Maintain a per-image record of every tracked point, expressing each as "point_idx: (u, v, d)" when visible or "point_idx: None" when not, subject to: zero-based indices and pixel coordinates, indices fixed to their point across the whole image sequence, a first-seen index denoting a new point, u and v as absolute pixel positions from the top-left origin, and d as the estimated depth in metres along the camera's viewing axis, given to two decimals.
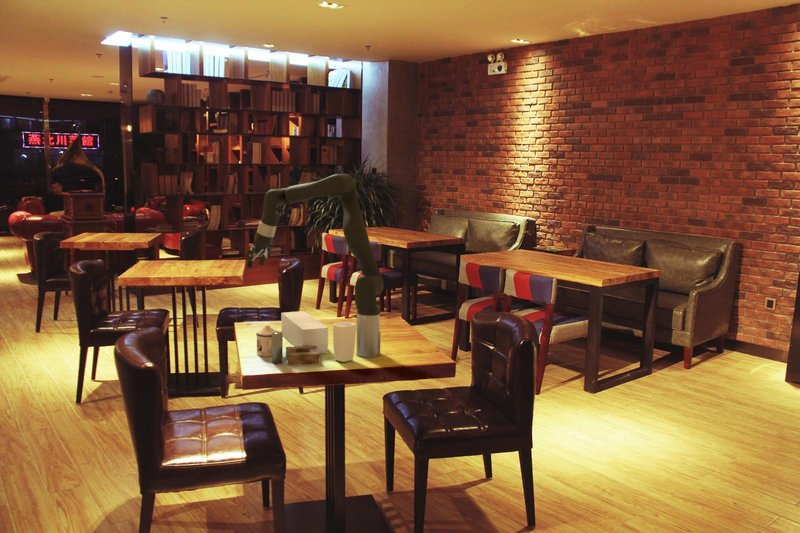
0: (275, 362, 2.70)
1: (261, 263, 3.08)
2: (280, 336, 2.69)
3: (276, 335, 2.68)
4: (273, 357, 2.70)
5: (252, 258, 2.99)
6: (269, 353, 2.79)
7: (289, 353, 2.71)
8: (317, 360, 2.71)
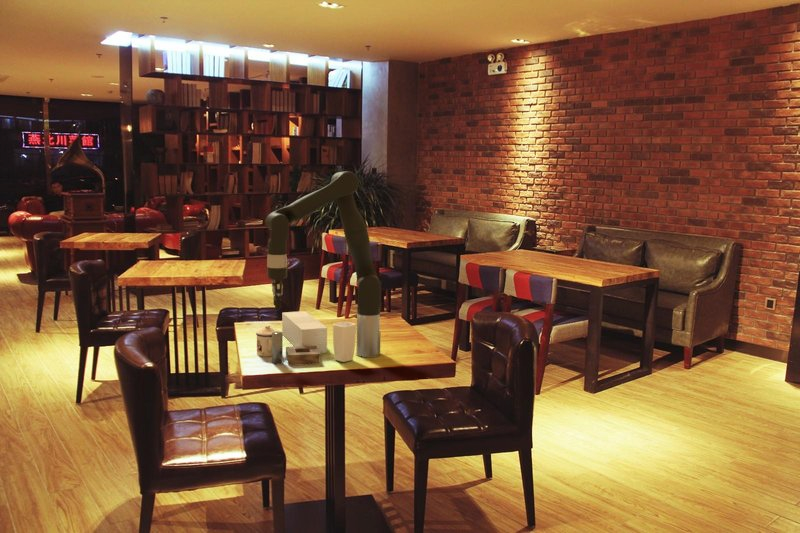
0: (275, 362, 2.70)
1: None
2: (280, 335, 2.69)
3: (276, 335, 2.68)
4: (273, 357, 2.70)
5: None
6: (269, 353, 2.79)
7: (289, 353, 2.71)
8: (317, 360, 2.71)
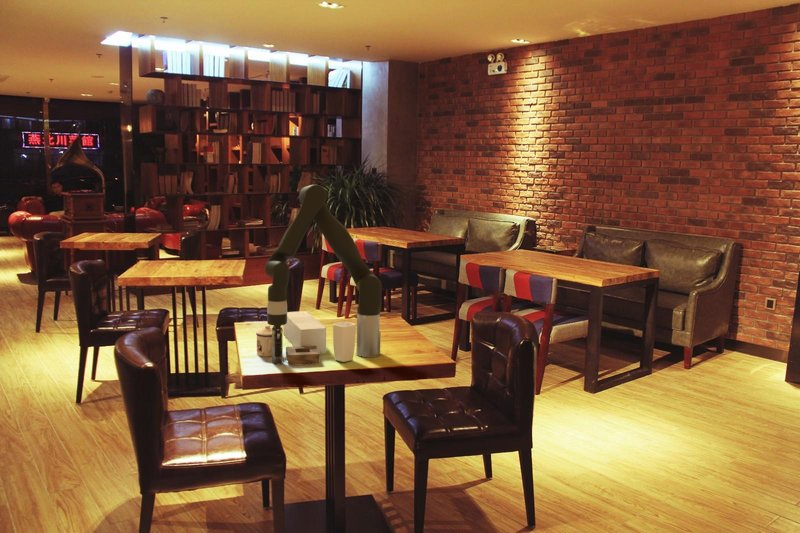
0: (275, 362, 2.70)
1: None
2: None
3: None
4: (273, 357, 2.70)
5: None
6: (269, 353, 2.79)
7: (289, 353, 2.71)
8: (317, 360, 2.71)
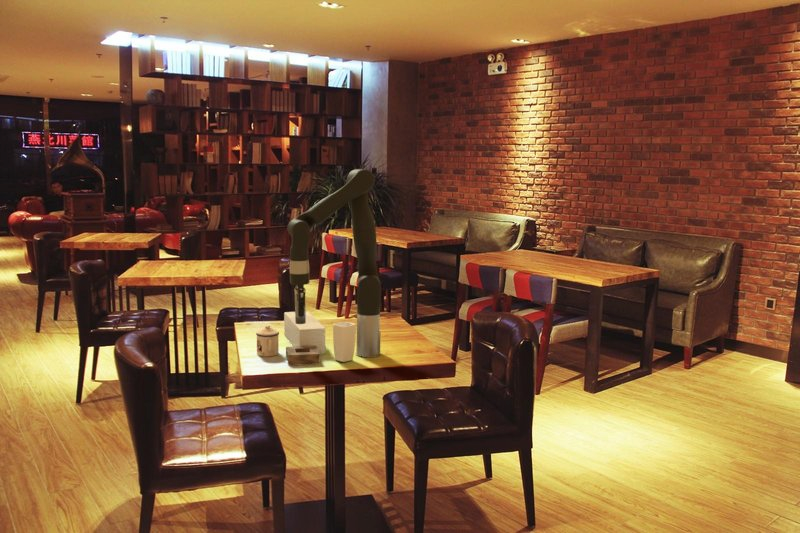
0: (299, 322, 2.71)
1: None
2: None
3: None
4: (296, 317, 2.71)
5: None
6: (269, 353, 2.79)
7: (289, 353, 2.71)
8: (317, 360, 2.71)
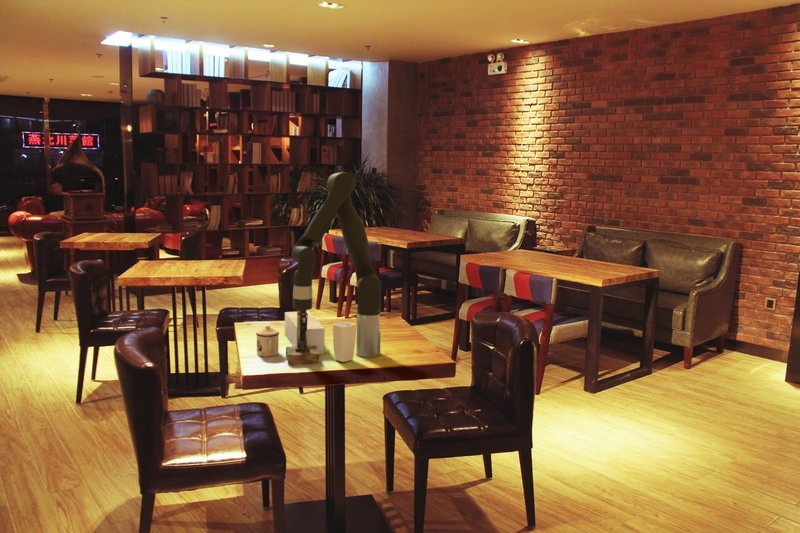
0: (300, 346, 2.73)
1: None
2: None
3: None
4: (298, 341, 2.73)
5: None
6: (269, 353, 2.79)
7: (289, 353, 2.71)
8: (317, 360, 2.71)
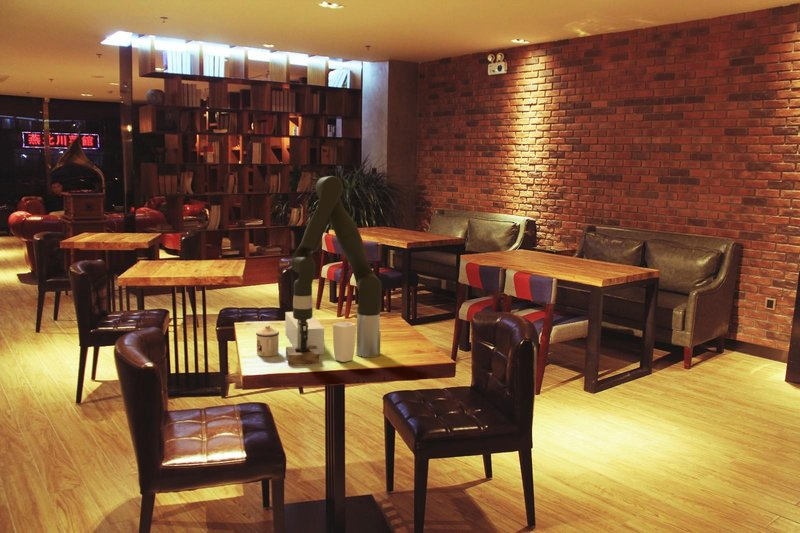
0: None
1: None
2: None
3: None
4: None
5: None
6: (269, 353, 2.79)
7: (289, 353, 2.71)
8: (317, 360, 2.71)
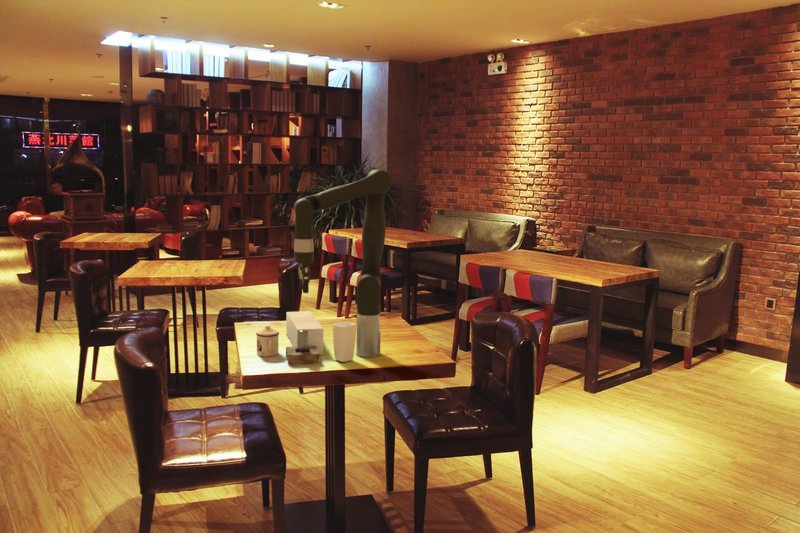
0: None
1: None
2: (305, 333, 2.73)
3: (302, 333, 2.72)
4: None
5: None
6: (269, 353, 2.79)
7: (289, 353, 2.71)
8: (317, 360, 2.71)
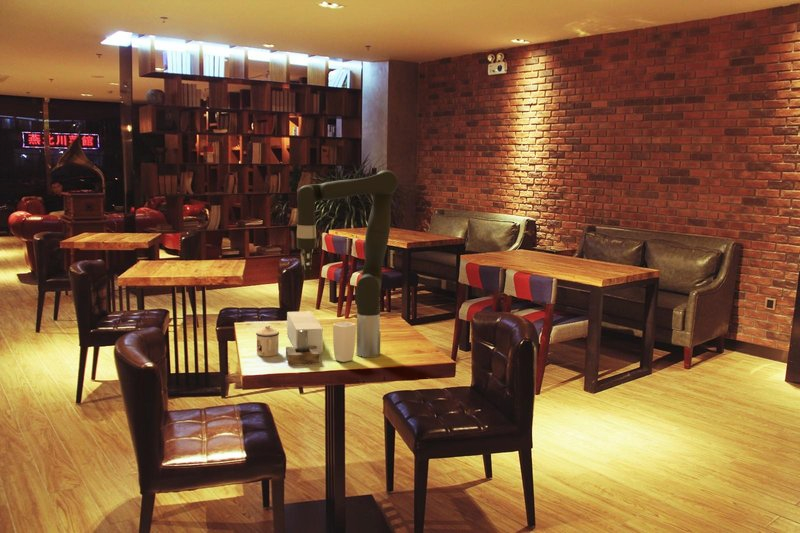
0: None
1: None
2: (305, 333, 2.73)
3: (302, 333, 2.72)
4: None
5: None
6: (269, 353, 2.79)
7: (289, 353, 2.71)
8: (317, 360, 2.71)
